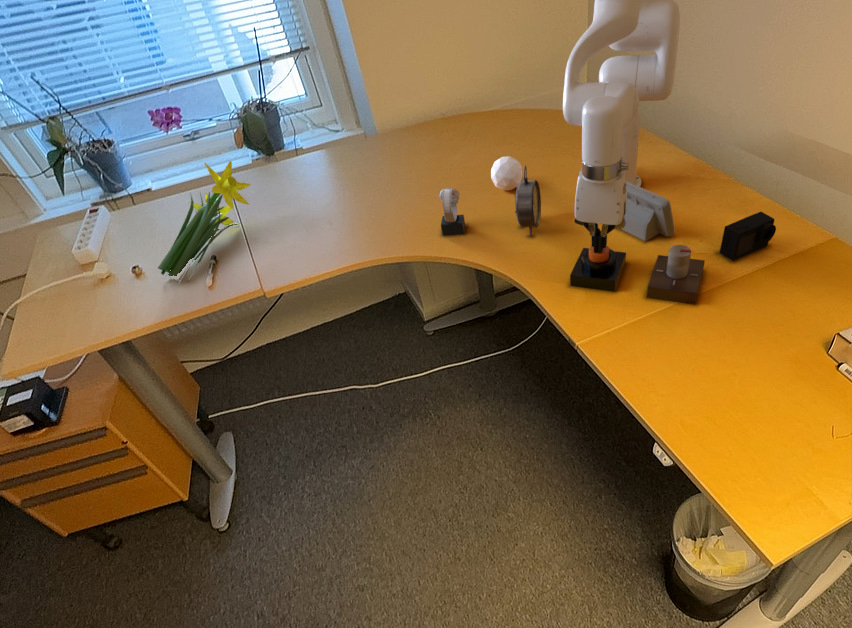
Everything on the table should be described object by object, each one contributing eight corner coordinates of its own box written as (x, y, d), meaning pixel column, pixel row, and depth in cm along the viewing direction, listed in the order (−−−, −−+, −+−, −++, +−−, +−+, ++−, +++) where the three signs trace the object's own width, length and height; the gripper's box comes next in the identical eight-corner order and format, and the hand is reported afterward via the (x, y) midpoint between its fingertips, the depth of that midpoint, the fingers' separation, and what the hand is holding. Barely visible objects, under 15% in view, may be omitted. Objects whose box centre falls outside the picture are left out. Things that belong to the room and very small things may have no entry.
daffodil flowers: (145, 281, 149) (209, 184, 163) (202, 305, 153) (260, 208, 167) (130, 246, 134) (203, 143, 148) (194, 274, 138) (259, 170, 152)
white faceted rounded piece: (532, 184, 158) (518, 172, 167) (518, 154, 152) (505, 143, 161) (505, 201, 159) (493, 188, 168) (490, 172, 153) (479, 159, 162)
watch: (466, 221, 152) (459, 181, 144) (463, 238, 146) (456, 197, 138) (445, 222, 152) (437, 183, 144) (441, 239, 147) (433, 199, 139)
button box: (583, 258, 135) (583, 239, 131) (625, 263, 132) (626, 244, 128) (570, 286, 128) (570, 267, 125) (614, 292, 125) (615, 273, 122)
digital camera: (736, 264, 128) (742, 236, 122) (718, 253, 131) (724, 225, 126) (771, 248, 130) (779, 220, 125) (753, 238, 134) (760, 210, 129)
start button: (591, 250, 129) (591, 242, 127) (611, 253, 127) (611, 244, 126) (586, 261, 126) (586, 253, 125) (606, 264, 125) (606, 256, 123)
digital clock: (678, 237, 137) (683, 196, 129) (646, 250, 135) (650, 208, 127) (637, 209, 147) (640, 169, 139) (607, 220, 145) (609, 180, 137)
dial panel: (656, 266, 130) (658, 254, 128) (702, 271, 127) (705, 259, 125) (646, 298, 123) (647, 285, 120) (694, 304, 120) (697, 292, 117)
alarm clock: (536, 239, 143) (532, 176, 131) (515, 239, 144) (509, 177, 132) (542, 216, 150) (539, 155, 138) (522, 216, 151) (517, 155, 139)
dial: (664, 277, 122) (668, 254, 118) (667, 266, 125) (670, 242, 120) (686, 280, 121) (690, 256, 116) (688, 268, 123) (692, 244, 119)
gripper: (643, 161, 112) (636, 244, 125) (569, 156, 116) (570, 236, 130) (635, 179, 107) (629, 263, 120) (558, 173, 112) (561, 255, 125)
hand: (598, 249), depth 125 cm, fingers closed
